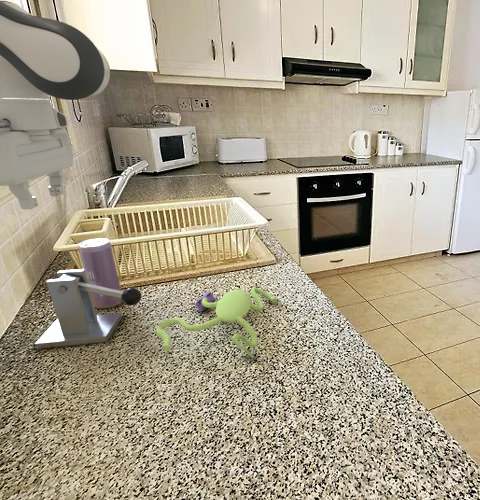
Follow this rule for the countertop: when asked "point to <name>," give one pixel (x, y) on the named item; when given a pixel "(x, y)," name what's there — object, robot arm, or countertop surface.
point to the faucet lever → (110, 291)
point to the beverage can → (100, 270)
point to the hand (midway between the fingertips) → (45, 201)
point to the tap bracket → (75, 315)
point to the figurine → (223, 315)
